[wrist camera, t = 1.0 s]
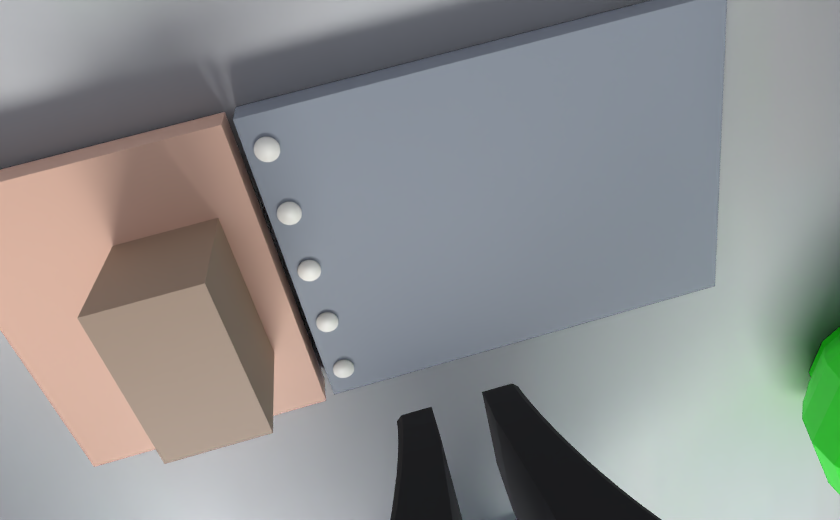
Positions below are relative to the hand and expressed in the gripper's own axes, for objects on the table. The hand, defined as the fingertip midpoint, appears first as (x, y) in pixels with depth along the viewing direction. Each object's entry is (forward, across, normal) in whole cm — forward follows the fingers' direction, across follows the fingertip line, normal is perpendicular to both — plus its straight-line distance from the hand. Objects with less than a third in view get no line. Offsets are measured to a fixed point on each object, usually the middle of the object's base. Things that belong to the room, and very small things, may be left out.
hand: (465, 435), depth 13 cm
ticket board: (+9, -4, 0) cm, 10 cm away
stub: (+9, +8, 0) cm, 12 cm away
